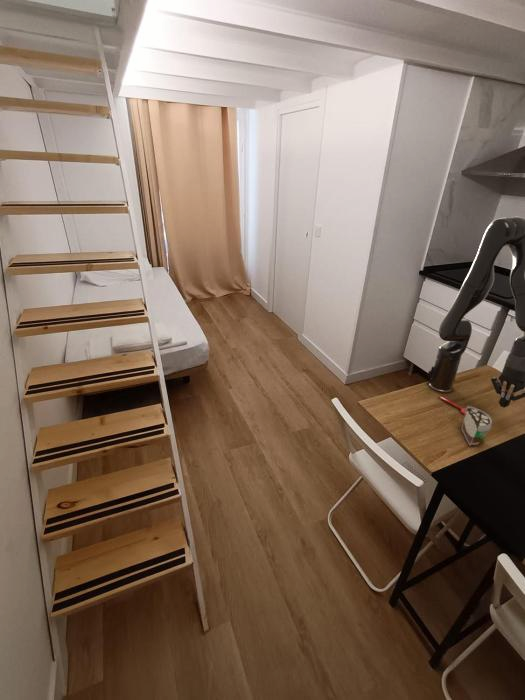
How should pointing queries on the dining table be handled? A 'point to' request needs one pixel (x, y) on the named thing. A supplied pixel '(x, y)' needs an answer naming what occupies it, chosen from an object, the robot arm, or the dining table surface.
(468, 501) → the dining table surface
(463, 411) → the spoon
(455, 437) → the dining table surface
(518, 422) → the dining table surface
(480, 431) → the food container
